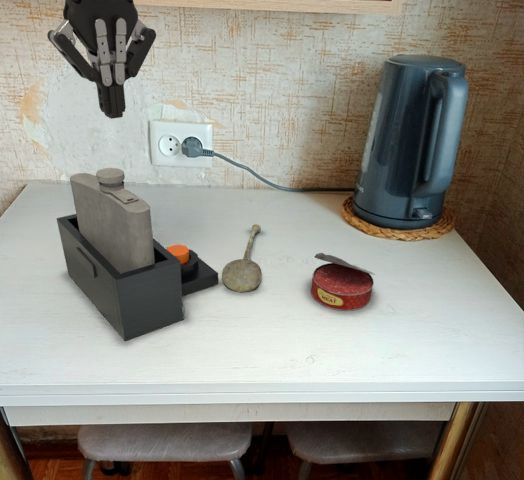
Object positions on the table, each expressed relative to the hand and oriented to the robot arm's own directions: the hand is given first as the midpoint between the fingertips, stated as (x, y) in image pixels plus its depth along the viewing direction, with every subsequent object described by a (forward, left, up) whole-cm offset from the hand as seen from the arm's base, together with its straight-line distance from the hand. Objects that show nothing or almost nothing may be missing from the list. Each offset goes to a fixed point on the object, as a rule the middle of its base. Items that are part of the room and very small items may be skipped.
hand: (113, 116), depth 64 cm
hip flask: (-2, -1, -27) cm, 27 cm away
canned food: (+28, -18, -27) cm, 43 cm away
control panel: (+8, 0, -26) cm, 28 cm away
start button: (+8, 0, -23) cm, 24 cm away
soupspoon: (+22, -1, -27) cm, 34 cm away
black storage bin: (-2, 0, -26) cm, 26 cm away
